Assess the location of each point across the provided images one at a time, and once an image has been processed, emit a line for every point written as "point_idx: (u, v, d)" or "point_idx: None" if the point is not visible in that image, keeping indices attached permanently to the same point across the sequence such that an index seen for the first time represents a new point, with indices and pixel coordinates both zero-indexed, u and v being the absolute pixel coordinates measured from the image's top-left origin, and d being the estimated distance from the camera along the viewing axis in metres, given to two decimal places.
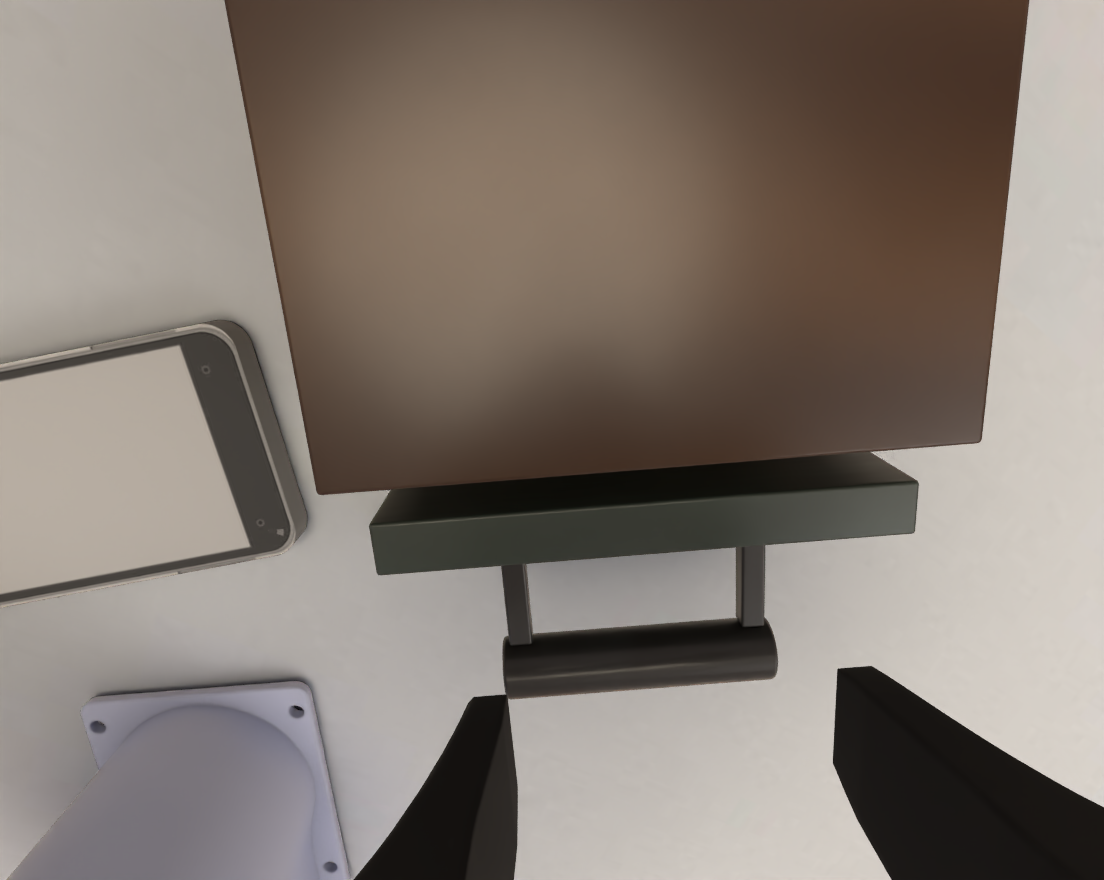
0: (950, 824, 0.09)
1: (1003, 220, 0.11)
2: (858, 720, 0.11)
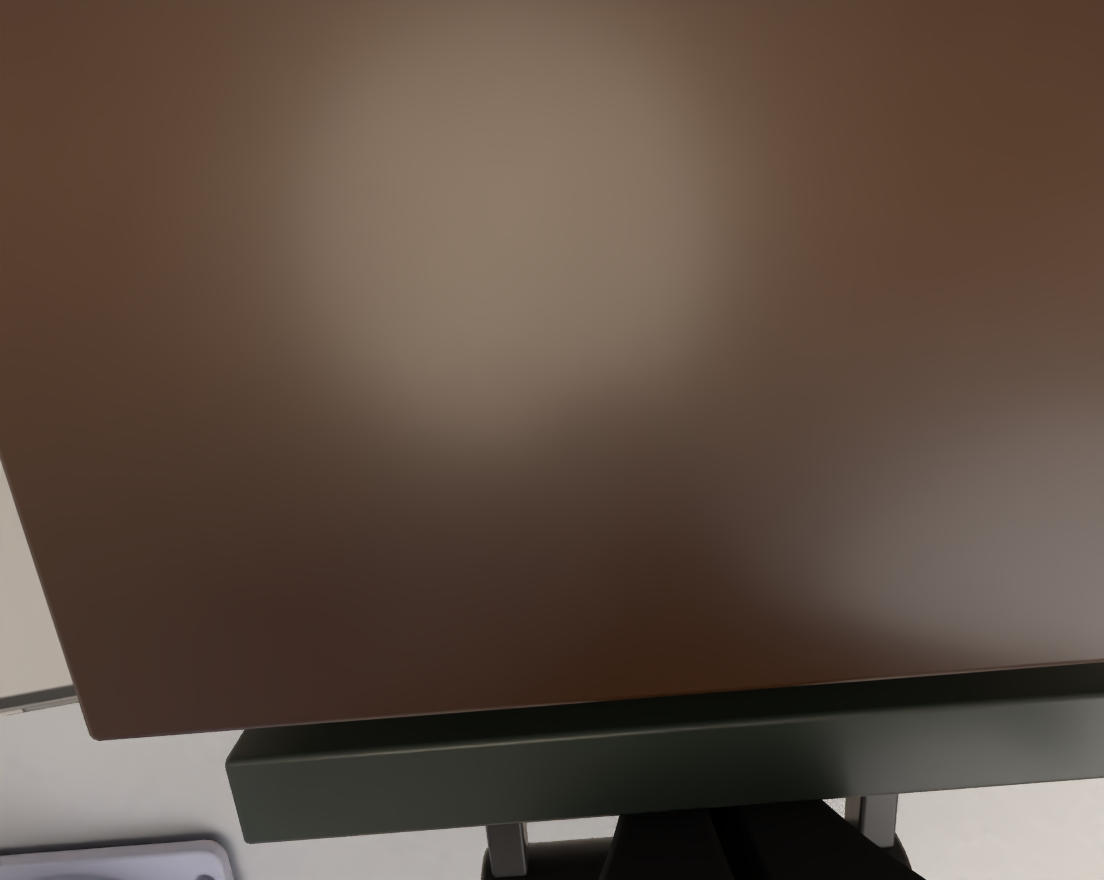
0: (730, 841, 0.09)
1: None
2: None
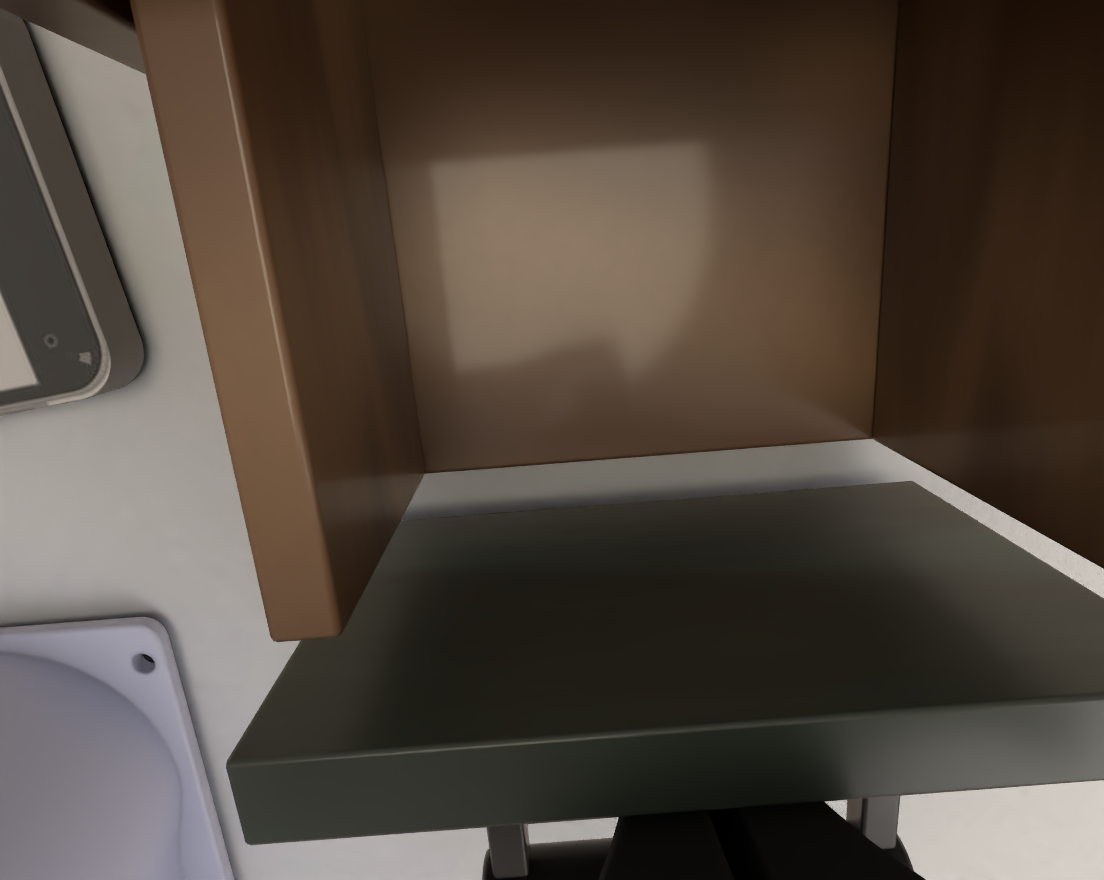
0: (730, 841, 0.09)
1: None
2: None
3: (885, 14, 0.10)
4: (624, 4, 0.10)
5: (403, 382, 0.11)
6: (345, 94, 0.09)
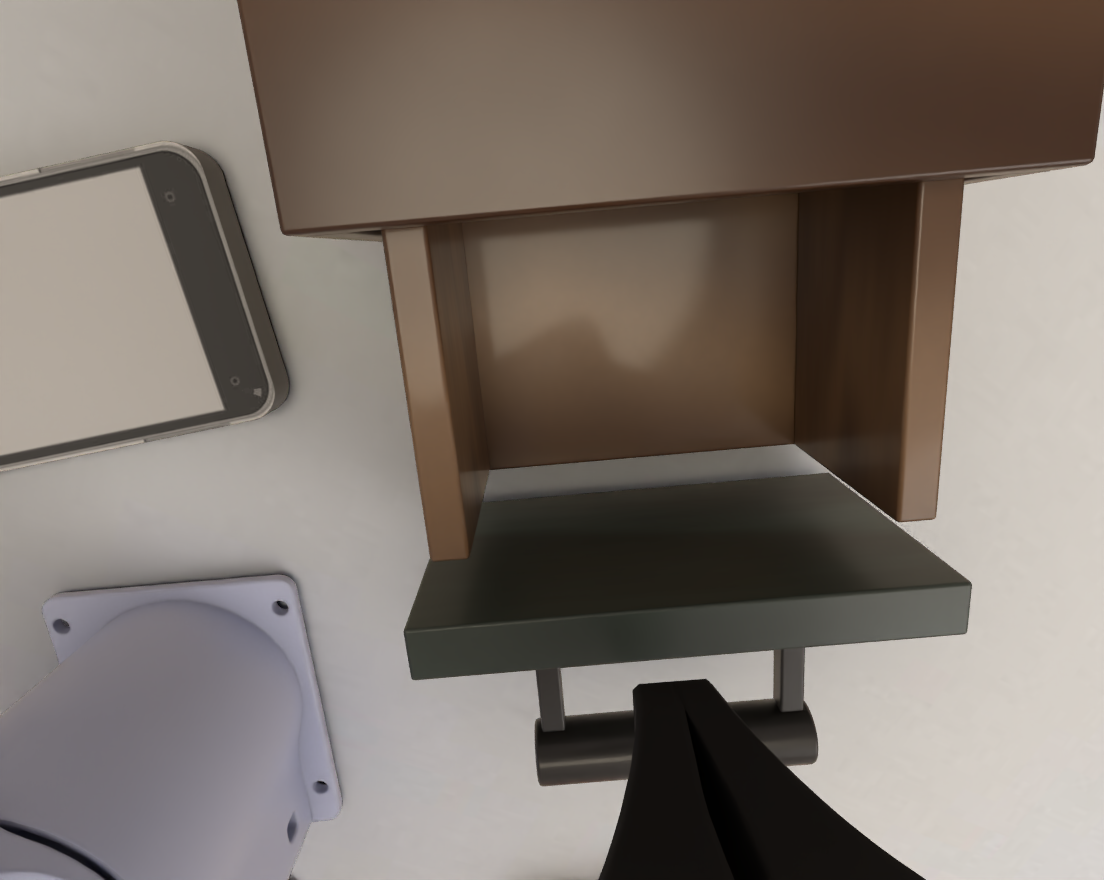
0: (730, 841, 0.09)
1: None
2: None
3: None
4: None
5: (480, 410, 0.17)
6: (454, 239, 0.15)
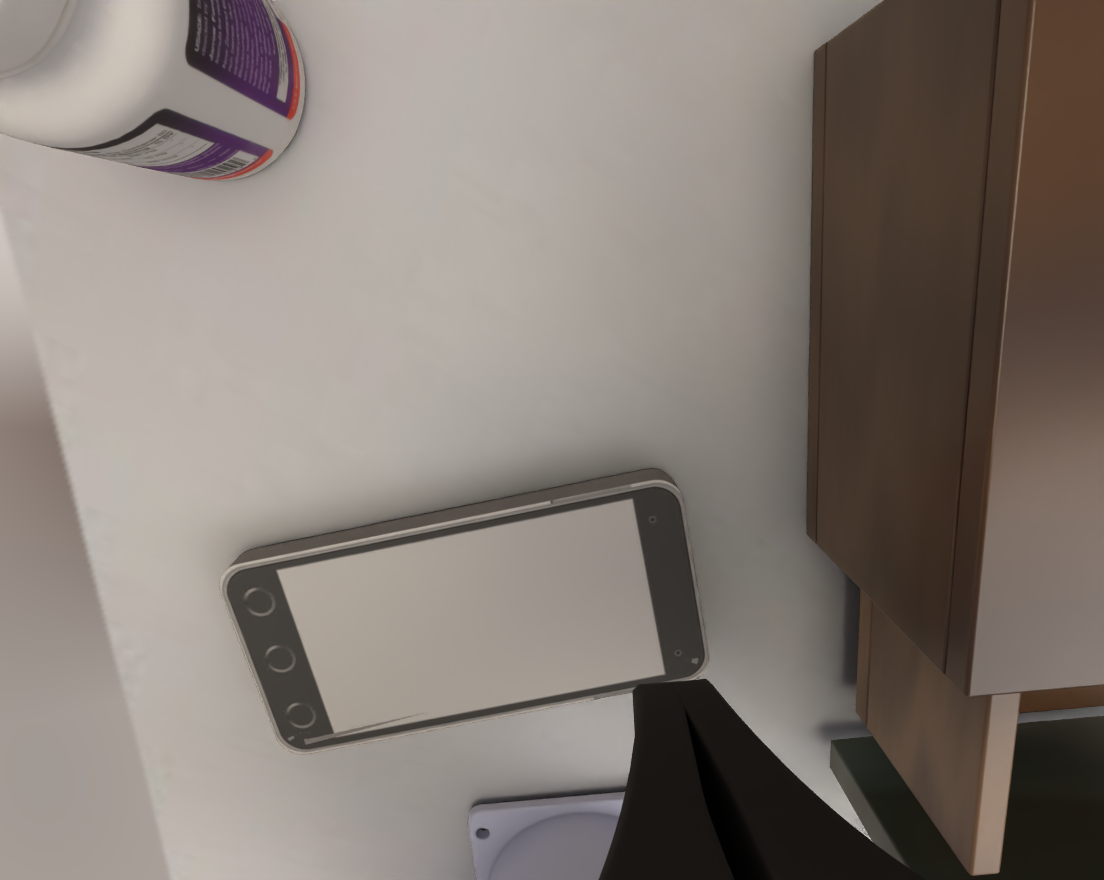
0: (730, 841, 0.09)
1: None
2: None
3: None
4: None
5: None
6: None
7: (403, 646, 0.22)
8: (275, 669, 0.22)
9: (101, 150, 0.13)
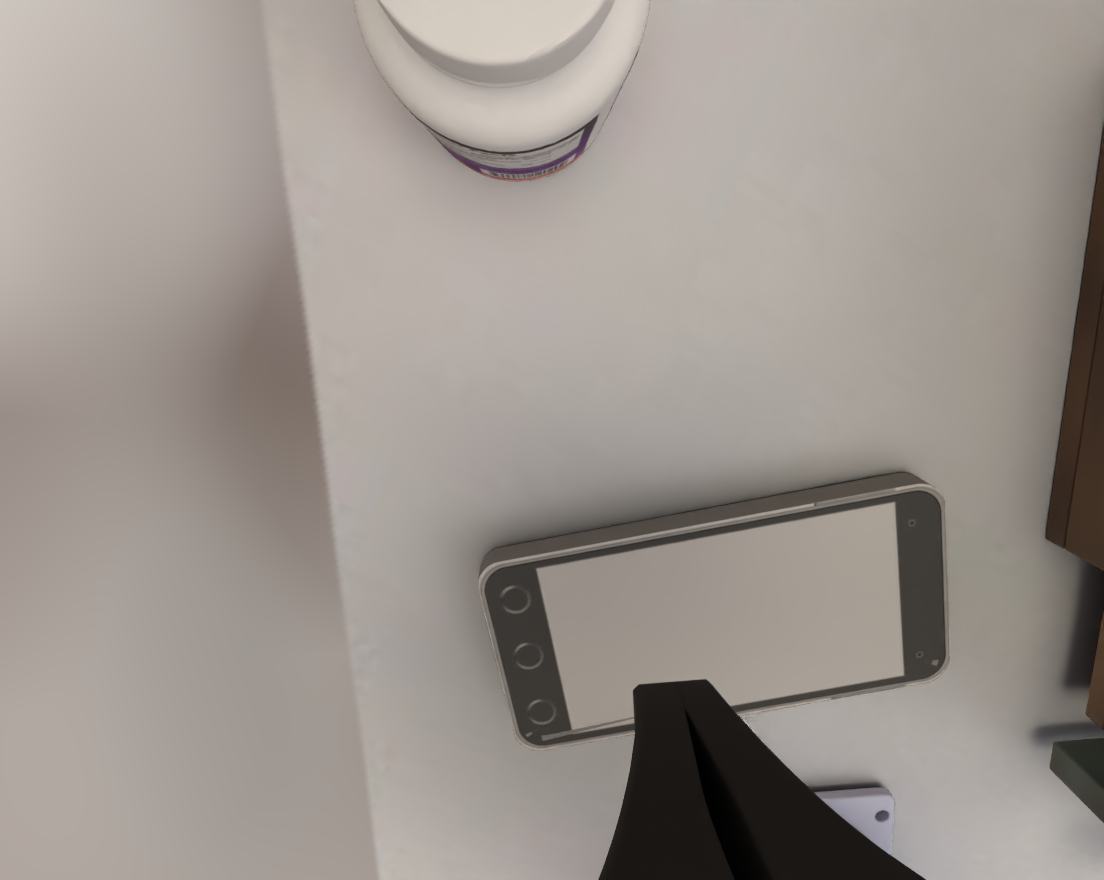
0: (730, 841, 0.09)
1: None
2: None
3: None
4: None
5: None
6: None
7: (651, 645, 0.22)
8: (522, 666, 0.22)
9: (522, 154, 0.13)
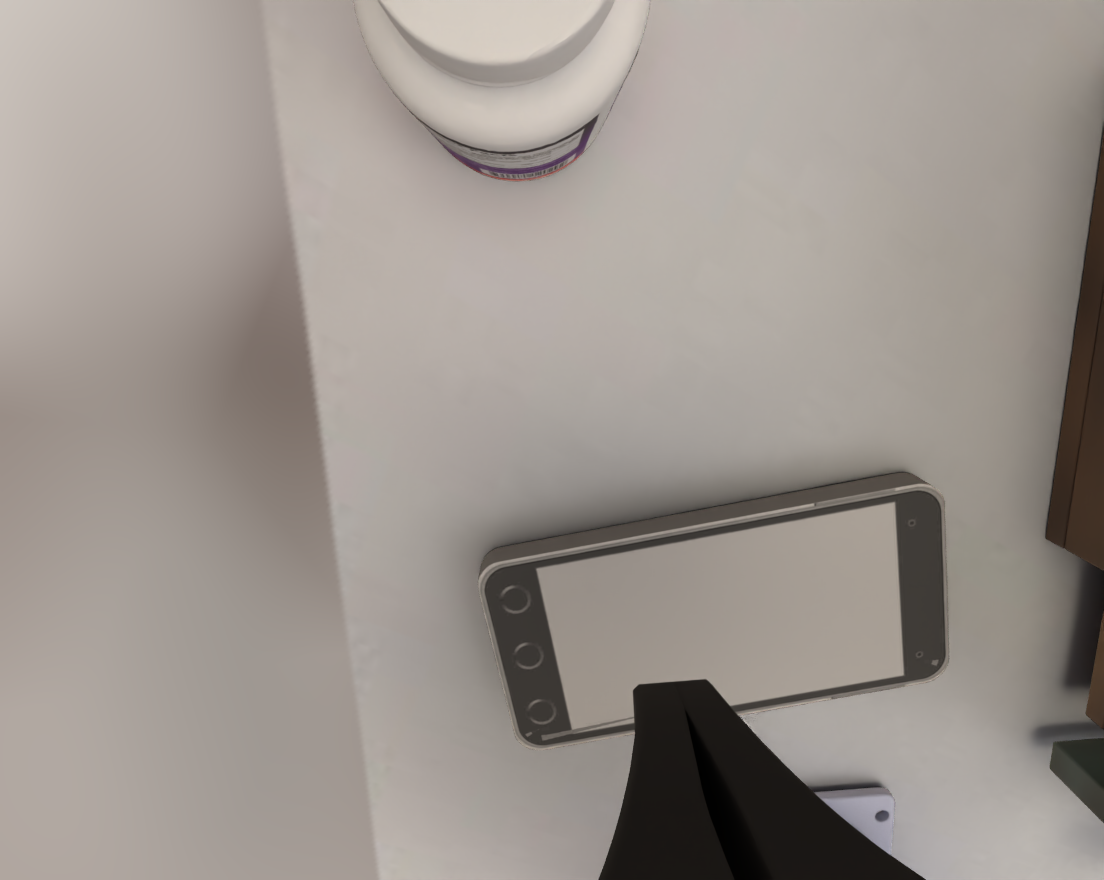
0: (730, 841, 0.09)
1: None
2: None
3: None
4: None
5: None
6: None
7: (651, 645, 0.22)
8: (522, 666, 0.22)
9: (522, 154, 0.13)
